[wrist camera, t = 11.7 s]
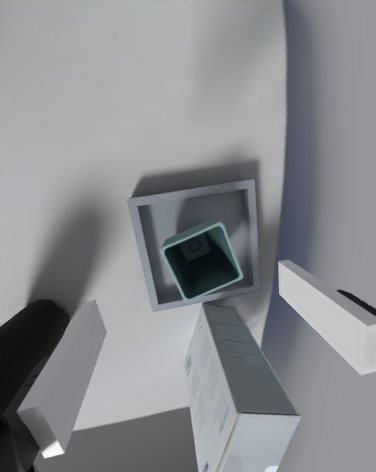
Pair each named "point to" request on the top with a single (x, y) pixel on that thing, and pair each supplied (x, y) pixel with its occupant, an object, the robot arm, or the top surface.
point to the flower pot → (201, 260)
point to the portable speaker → (27, 344)
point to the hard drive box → (235, 397)
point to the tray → (190, 215)
